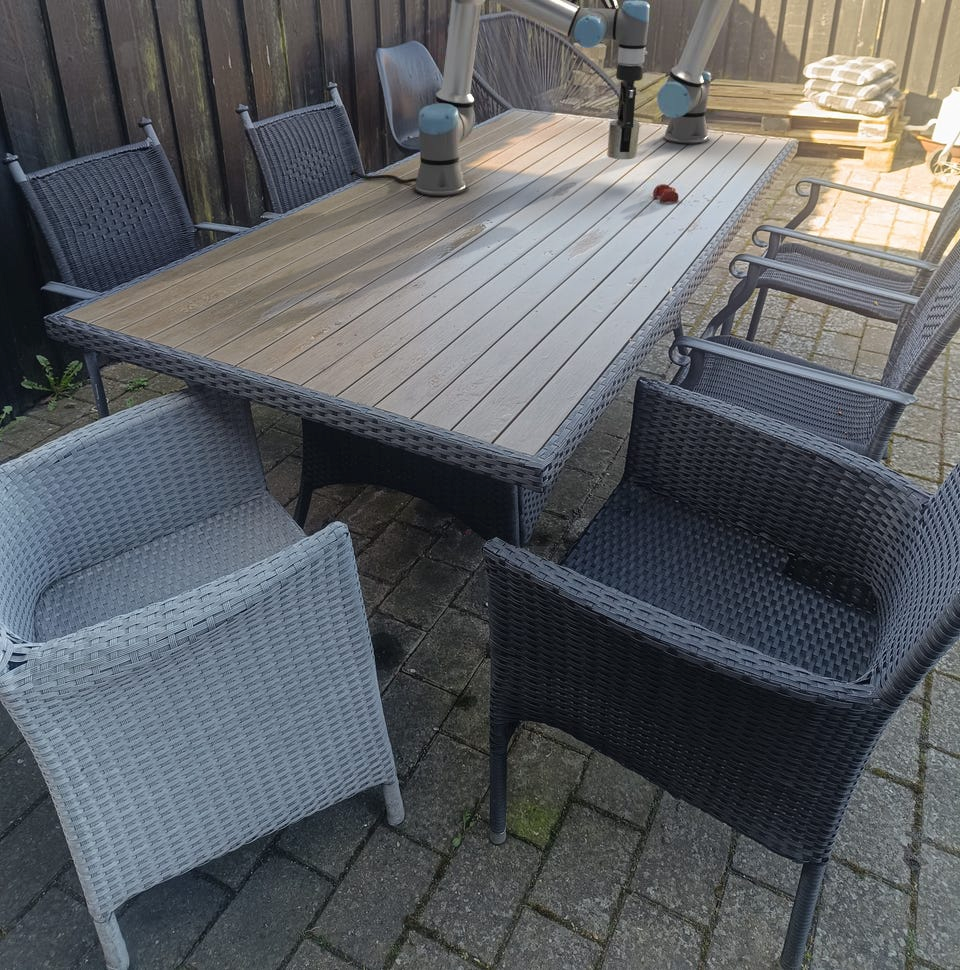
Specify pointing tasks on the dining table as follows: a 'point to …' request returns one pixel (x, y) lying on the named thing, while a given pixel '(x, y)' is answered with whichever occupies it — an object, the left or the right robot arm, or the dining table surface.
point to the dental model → (665, 193)
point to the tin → (616, 140)
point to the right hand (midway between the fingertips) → (588, 32)
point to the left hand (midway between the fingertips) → (622, 147)
